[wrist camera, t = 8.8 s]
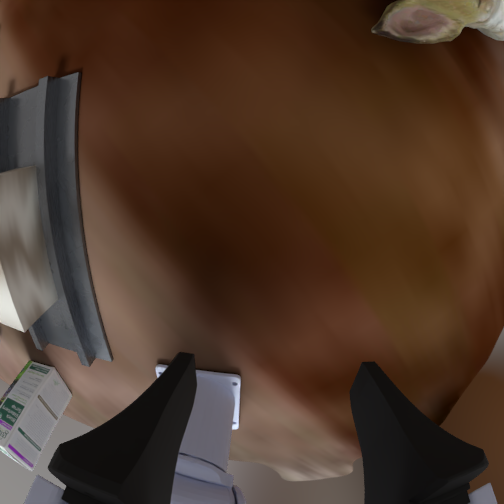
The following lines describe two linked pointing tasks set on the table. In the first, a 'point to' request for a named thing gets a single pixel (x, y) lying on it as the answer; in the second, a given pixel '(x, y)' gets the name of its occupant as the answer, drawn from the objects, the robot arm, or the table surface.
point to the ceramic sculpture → (440, 19)
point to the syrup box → (31, 412)
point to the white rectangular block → (23, 252)
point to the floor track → (56, 209)
